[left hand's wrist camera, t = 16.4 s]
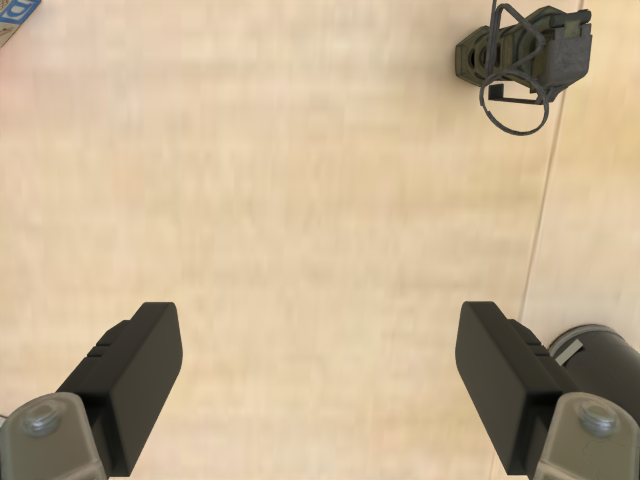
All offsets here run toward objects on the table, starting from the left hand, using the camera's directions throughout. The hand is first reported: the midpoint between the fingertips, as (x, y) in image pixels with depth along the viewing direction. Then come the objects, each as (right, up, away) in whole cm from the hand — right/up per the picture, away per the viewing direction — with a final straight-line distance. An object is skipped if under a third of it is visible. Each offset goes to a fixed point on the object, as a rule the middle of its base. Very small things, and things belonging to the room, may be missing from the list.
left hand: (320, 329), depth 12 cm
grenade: (+14, +18, +27) cm, 36 cm away
